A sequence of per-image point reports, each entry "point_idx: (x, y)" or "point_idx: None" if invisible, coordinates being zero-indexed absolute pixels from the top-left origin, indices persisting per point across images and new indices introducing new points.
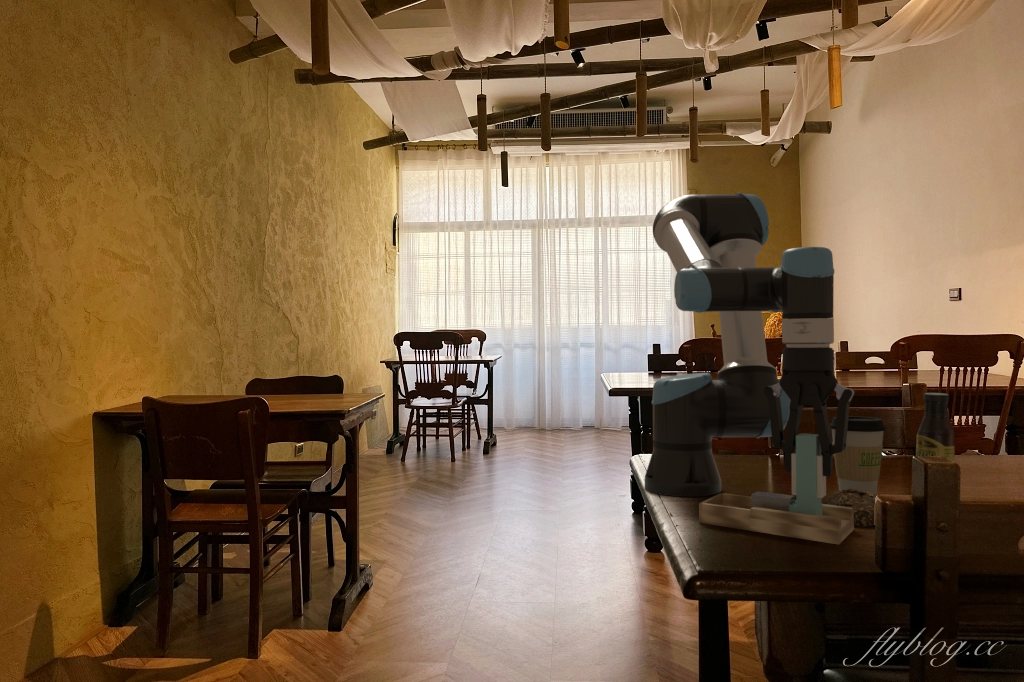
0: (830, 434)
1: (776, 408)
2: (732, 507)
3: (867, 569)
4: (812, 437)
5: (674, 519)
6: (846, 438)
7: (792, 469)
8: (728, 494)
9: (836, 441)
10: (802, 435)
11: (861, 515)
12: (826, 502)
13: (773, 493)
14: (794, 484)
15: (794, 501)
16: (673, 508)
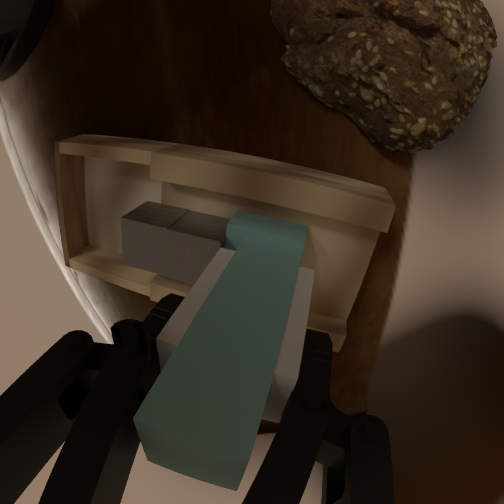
0: (306, 482)
1: (15, 499)
2: (117, 280)
3: (361, 406)
4: (222, 483)
5: (57, 239)
6: (390, 475)
7: None
8: (68, 150)
9: (330, 490)
10: (171, 465)
11: (413, 143)
12: (310, 32)
13: (162, 231)
14: None
15: (226, 241)
16: (29, 163)
